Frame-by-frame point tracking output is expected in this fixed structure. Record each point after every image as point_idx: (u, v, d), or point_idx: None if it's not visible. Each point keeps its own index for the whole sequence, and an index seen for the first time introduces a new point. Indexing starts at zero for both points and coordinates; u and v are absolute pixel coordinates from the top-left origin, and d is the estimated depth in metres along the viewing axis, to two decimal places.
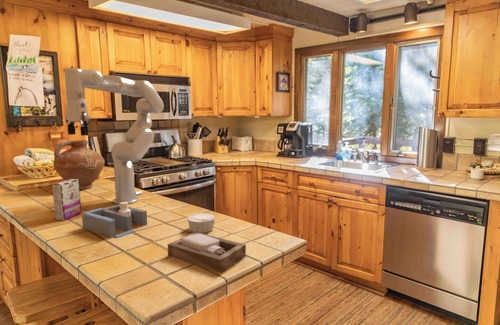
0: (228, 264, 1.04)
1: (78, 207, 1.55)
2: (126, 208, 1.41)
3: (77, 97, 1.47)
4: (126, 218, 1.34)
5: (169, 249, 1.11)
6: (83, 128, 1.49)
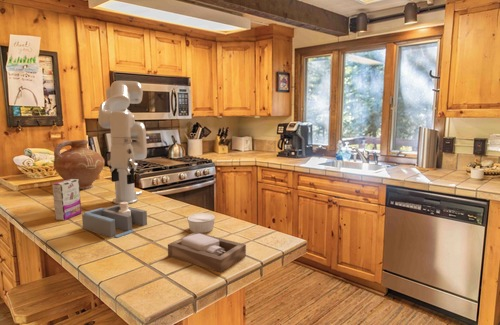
0: (228, 264, 1.04)
1: (78, 207, 1.55)
2: (126, 208, 1.41)
3: (124, 143, 1.34)
4: (126, 218, 1.34)
5: (169, 249, 1.11)
6: (130, 176, 1.35)
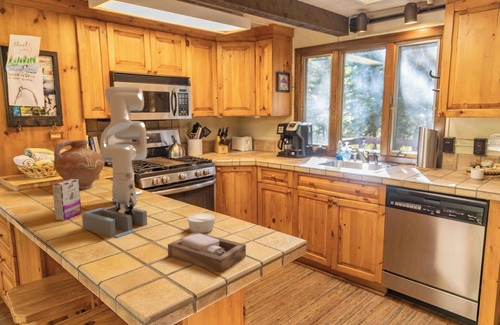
0: (228, 264, 1.04)
1: (78, 207, 1.55)
2: None
3: (125, 178, 1.37)
4: (126, 218, 1.34)
5: (169, 249, 1.11)
6: (128, 212, 1.39)
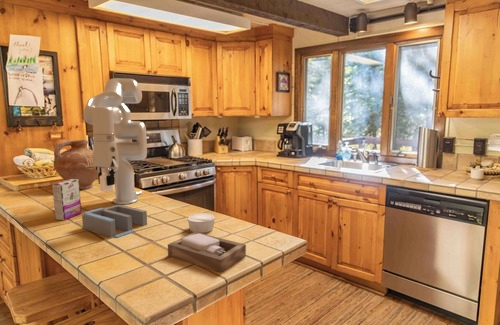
0: (228, 264, 1.04)
1: (78, 207, 1.55)
2: None
3: (106, 140, 1.28)
4: (126, 218, 1.34)
5: (169, 249, 1.11)
6: (109, 177, 1.30)
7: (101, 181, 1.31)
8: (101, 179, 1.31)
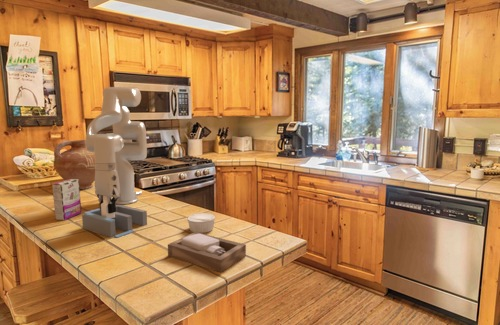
0: (228, 264, 1.04)
1: (78, 207, 1.55)
2: None
3: (108, 169, 1.29)
4: (126, 218, 1.34)
5: (169, 249, 1.11)
6: (111, 205, 1.32)
7: (102, 209, 1.33)
8: (103, 207, 1.33)
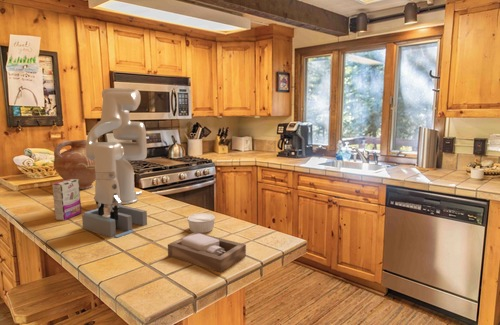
0: (228, 264, 1.04)
1: (78, 207, 1.55)
2: None
3: (108, 178, 1.30)
4: (126, 218, 1.34)
5: (169, 249, 1.11)
6: (113, 213, 1.32)
7: None
8: None
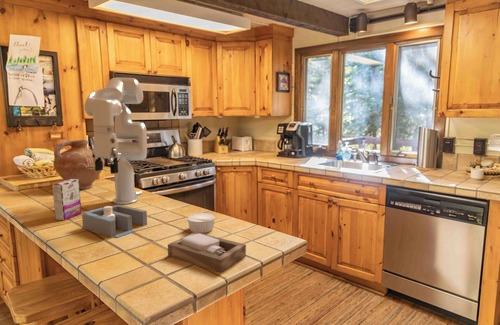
0: (228, 264, 1.04)
1: (78, 207, 1.55)
2: (110, 212, 1.34)
3: (106, 132, 1.32)
4: (126, 218, 1.34)
5: (169, 249, 1.11)
6: (113, 166, 1.34)
7: None
8: None
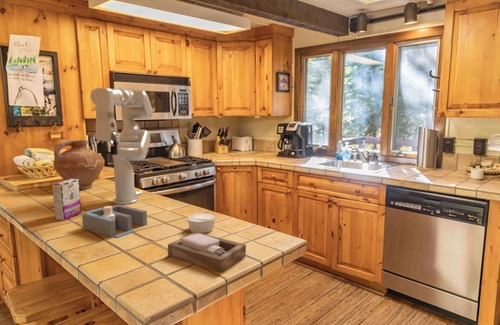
0: (228, 264, 1.04)
1: (78, 207, 1.55)
2: (110, 212, 1.34)
3: (107, 117, 1.47)
4: (126, 218, 1.34)
5: (169, 249, 1.11)
6: (113, 148, 1.49)
7: None
8: None
